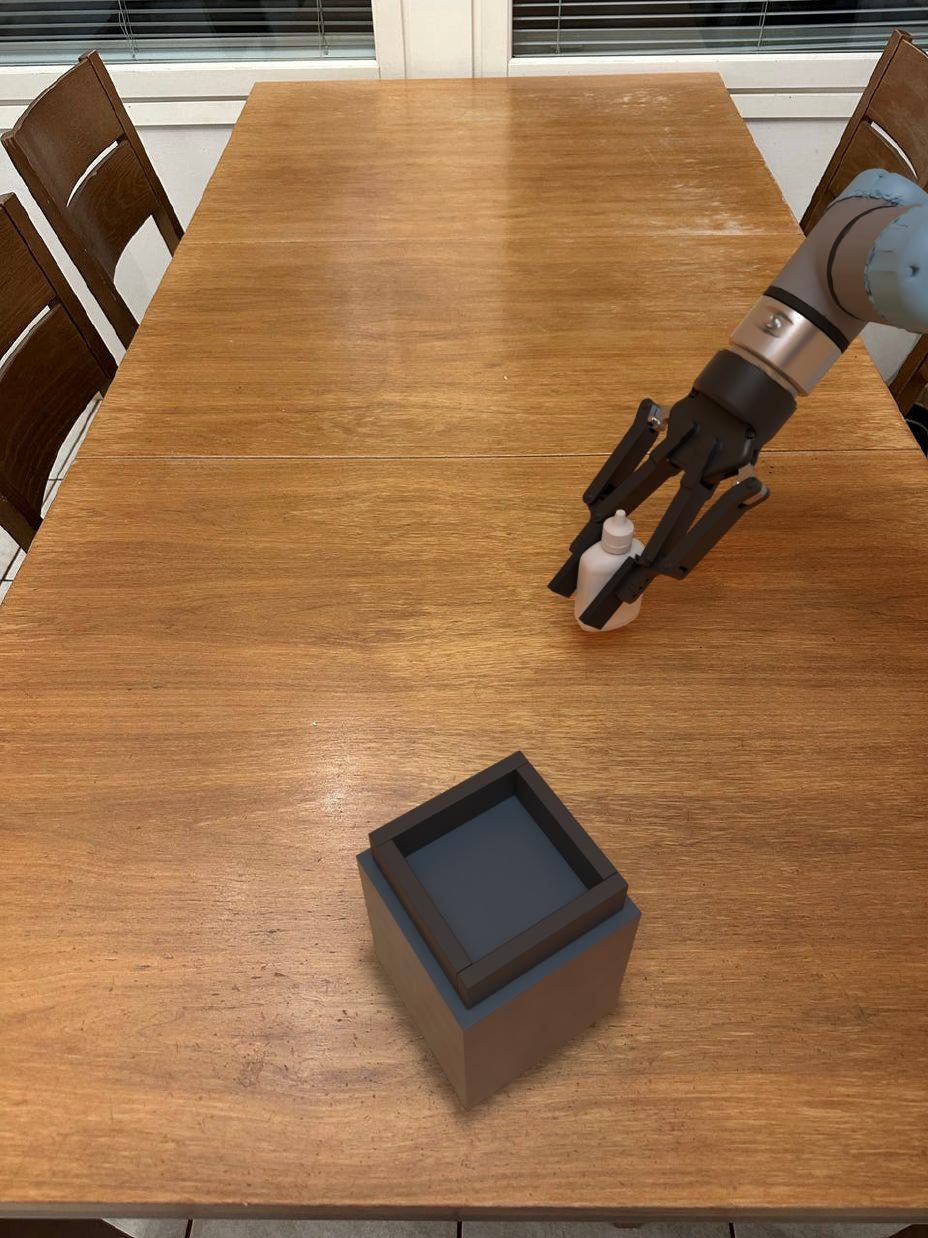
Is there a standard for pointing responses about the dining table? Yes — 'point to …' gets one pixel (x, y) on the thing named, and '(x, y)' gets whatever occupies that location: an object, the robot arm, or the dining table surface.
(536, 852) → the pedestal
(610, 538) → the eye dropper bottle
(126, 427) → the dining table surface
